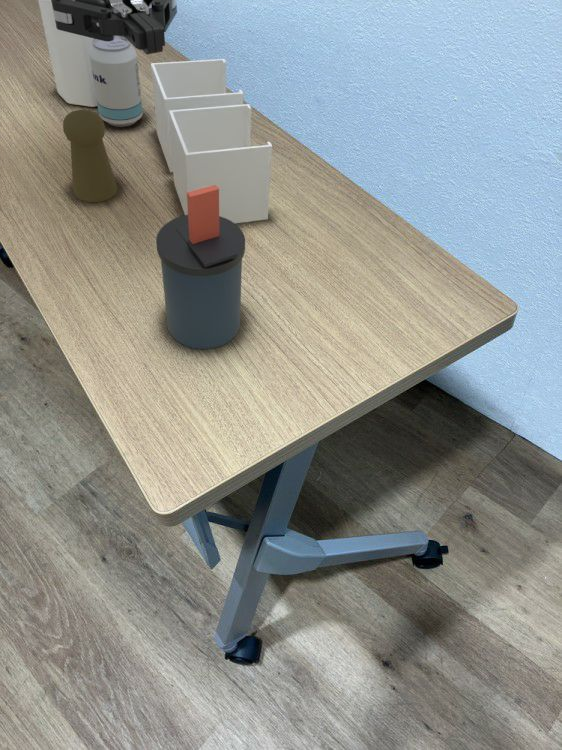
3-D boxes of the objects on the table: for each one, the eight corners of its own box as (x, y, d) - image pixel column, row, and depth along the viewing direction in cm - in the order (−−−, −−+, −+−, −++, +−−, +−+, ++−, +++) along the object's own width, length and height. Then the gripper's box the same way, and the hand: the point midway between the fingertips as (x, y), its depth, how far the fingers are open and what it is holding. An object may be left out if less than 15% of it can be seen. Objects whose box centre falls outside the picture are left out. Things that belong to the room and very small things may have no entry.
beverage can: (93, 114, 100) (80, 36, 91) (132, 105, 103) (124, 28, 94) (109, 134, 97) (98, 54, 88) (150, 124, 99) (143, 46, 90)
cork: (71, 180, 88) (55, 105, 80) (114, 175, 90) (103, 101, 81) (75, 204, 84) (59, 128, 76) (120, 199, 86) (108, 124, 77)
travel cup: (152, 311, 72) (141, 226, 63) (220, 287, 76) (220, 204, 67) (185, 362, 68) (179, 278, 58) (256, 334, 71) (261, 252, 62)
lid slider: (186, 244, 61) (183, 192, 57) (218, 234, 63) (218, 183, 58) (204, 267, 59) (202, 216, 55) (237, 257, 61) (238, 206, 56)
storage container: (157, 134, 98) (150, 63, 89) (224, 128, 100) (224, 58, 92) (189, 229, 83) (185, 154, 74) (267, 219, 85) (272, 146, 77)
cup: (93, 115, 100) (72, -13, 86) (43, 94, 103) (14, -33, 89) (138, 90, 107) (125, -33, 92) (90, 71, 110) (70, -50, 96)
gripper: (11, -62, 58) (74, 5, 49) (141, -73, 63) (220, -14, 54) (30, 24, 64) (90, 97, 55) (148, 7, 69) (221, 72, 60)
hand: (155, 42), depth 55 cm, fingers closed
